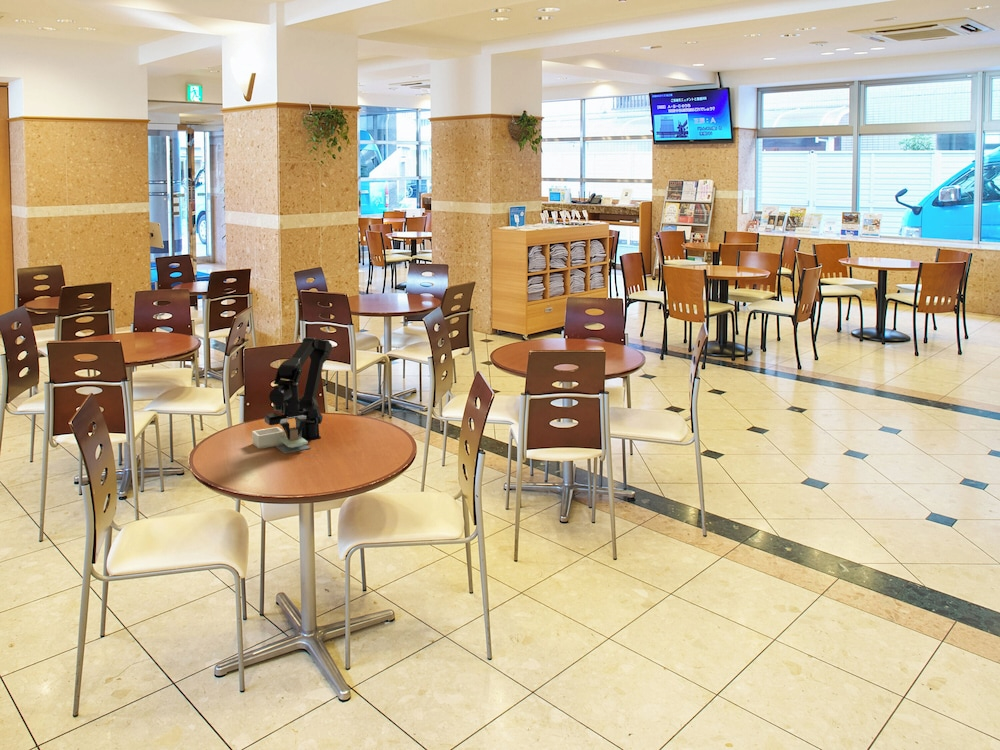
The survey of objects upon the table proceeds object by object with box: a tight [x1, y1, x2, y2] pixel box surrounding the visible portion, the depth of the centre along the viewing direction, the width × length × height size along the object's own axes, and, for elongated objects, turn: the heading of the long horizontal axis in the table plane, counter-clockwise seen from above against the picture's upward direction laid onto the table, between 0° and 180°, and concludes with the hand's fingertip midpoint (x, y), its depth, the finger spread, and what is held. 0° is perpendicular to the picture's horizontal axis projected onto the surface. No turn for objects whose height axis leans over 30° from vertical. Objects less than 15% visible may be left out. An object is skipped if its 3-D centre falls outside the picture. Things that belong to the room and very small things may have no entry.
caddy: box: [251, 426, 286, 450], centre depth 326 cm, size 10×7×5 cm
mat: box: [275, 444, 311, 455], centre depth 322 cm, size 10×8×1 cm
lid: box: [278, 426, 309, 448], centre depth 321 cm, size 10×7×6 cm
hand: (293, 438), depth 321 cm, fingers closed on lid, 3 cm apart
